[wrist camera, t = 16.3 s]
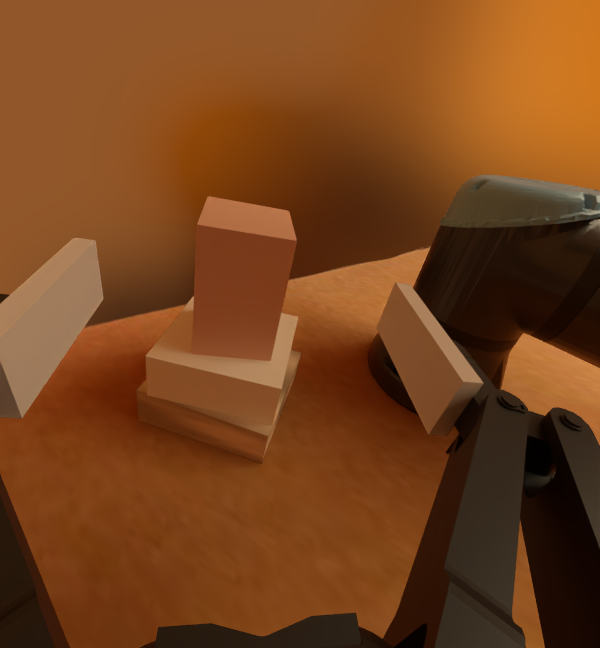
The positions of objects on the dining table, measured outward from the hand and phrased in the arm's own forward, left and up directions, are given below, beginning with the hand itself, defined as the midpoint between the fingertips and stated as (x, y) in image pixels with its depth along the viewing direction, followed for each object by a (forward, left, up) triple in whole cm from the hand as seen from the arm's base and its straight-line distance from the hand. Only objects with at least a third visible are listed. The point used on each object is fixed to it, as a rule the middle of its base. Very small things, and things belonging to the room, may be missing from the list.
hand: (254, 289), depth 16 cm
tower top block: (-9, -4, -14) cm, 17 cm away
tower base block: (-9, -4, -18) cm, 20 cm away
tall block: (-9, -4, -10) cm, 14 cm away
